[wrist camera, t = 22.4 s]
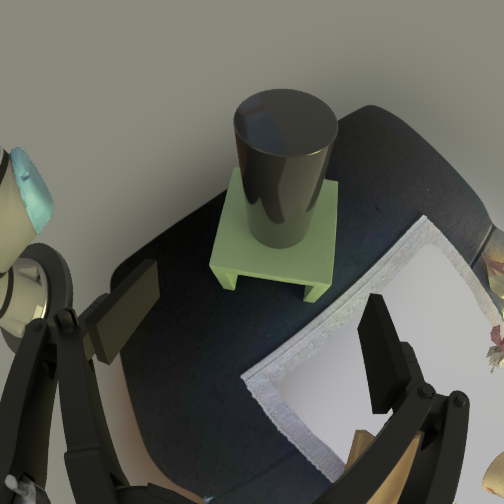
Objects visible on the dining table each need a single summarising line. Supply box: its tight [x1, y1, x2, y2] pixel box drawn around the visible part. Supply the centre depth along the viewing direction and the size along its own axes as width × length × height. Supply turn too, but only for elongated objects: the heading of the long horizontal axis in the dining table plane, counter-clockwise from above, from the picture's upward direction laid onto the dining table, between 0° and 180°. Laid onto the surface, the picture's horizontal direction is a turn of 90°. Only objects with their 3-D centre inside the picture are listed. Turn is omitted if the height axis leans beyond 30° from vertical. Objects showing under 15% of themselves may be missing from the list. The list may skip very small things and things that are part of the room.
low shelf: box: [344, 430, 422, 504], centre depth 24 cm, size 11×11×6 cm
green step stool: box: [209, 167, 338, 303], centre depth 33 cm, size 12×12×10 cm
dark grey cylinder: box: [233, 89, 338, 249], centre depth 22 cm, size 6×6×14 cm
